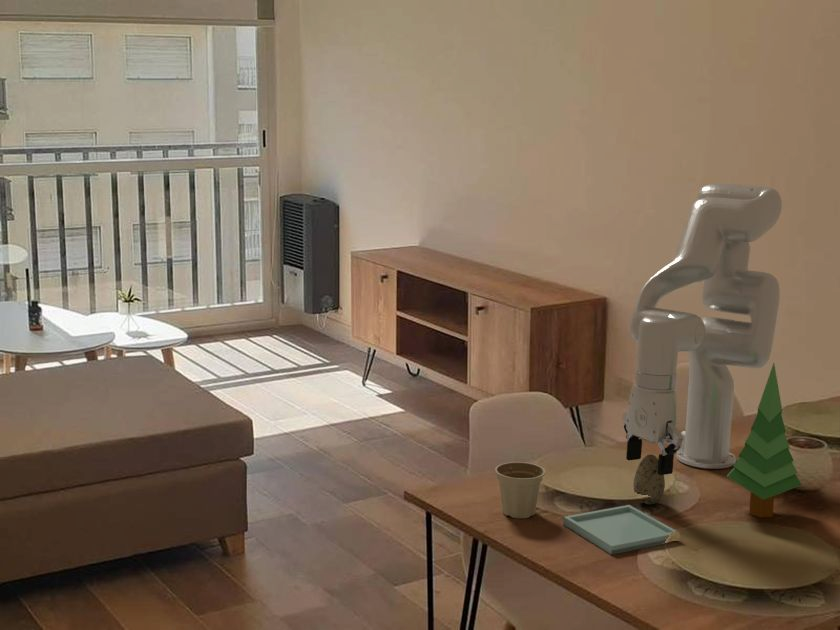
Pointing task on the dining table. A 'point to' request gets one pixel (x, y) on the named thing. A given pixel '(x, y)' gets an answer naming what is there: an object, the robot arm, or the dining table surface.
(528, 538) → the dining table surface
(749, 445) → the decorative tree
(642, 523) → the teal dish
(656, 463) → the decorative egg
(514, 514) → the flower pot
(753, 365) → the robot arm
